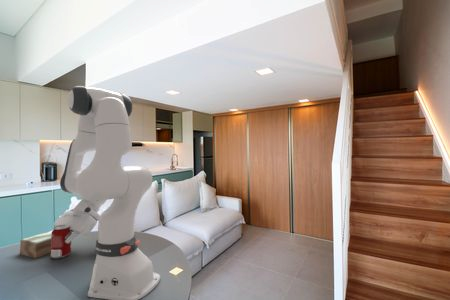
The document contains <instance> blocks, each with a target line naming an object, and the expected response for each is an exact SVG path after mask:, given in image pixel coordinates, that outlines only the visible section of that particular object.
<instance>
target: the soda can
mask: <svg viewBox="0 0 450 300" xmlns="http://www.w3.org/2000/svg"><path fill="white" fill-rule="evenodd" d="M51 233H52V234H51V253H49V254H50V255H49V257H50V258H52V259H63V258H65V257H67V256H69V255H70V254H72V253H71V252H72V240H71V241H70V243H65V242H64V240H65V238H66V237H69V236H70V235H71V234H72V230H70V226H69V227H68V226H66V225H59V226H54V227H53V229H52V231H51Z"/></svg>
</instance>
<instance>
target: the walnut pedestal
mask: <svg viewBox="0 0 450 300" xmlns="http://www.w3.org/2000/svg"><path fill="white" fill-rule="evenodd" d="M51 234H52V232H48V231H46V232H44V233H39V234H35V235H32V236H29V237H26V238H22V239H21V240H20V243H19V244H20V246H19V254H20V255H21V256H26V257H30V258H32V259H33V258H34V259H38V258H40V257H43V256H46V255H47V254H51Z"/></svg>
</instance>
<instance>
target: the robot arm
mask: <svg viewBox="0 0 450 300" xmlns="http://www.w3.org/2000/svg"><path fill="white" fill-rule="evenodd" d="M66 98H67V99H66V100H67V104H68V107H69V110H70V111H71V112H72V113H73V114H77V115H79V119H78V124H77V125H78V126H77V135H76V137H75V138H74V139H73V140H72V141H71V143H70V145H69V149H68V153H67V156H66V160H65V161H66V162H65V166H64V171H63V174H62V175H61V178H60V181H59V184H60V185H59V186H60V189H61V190H62V191H64V193H65V192H66V193H70V194H74V195H77V196H79V198H81V199H80V201H79V202H78V203H77V205H76V206H75V207H74V208H72V209H70V210H67V211H65V212H64V213H63V214H62V215H60V216H59V217H58V218H57V219H55V221H54V222H53V226H54V227H56V226H59V225H66V226H68V227H69V226H70V230H72V234H71V235H70V236H69V237H66V238H65V240H64V242H65V243H70V241H71V242H72V240H74V239H75V238H77V237H78V236H79V235H82V236H88V235H89V234H90V233H91V232H92V230H93V229H94V228H95V227H96V226H97V240H96V242H95V254H96V256H95V261H94V263H93V268H92V274H91V280H90V283H89V289H88V291H87V297H89V298H97V299H103V300H104V299H105V300H140V299H142V298H144V297H145V296H146V295H148V294H149V293H150V292H152V290H154V289H155V288H156V286H158V284H159V283H160V280H161V275H160V274H159V273H157V272H154V267H153V262H152V260H150V259H149V257H148V256H147V255H146V254H144V253H143V252H142V251H141V250H140V249H139V248H138V244H141V242H140V241H141V239H138V240H137V239H136V235H135V222H136V221H135V219H136V213H137V210H138V207H139V205H140V202H141V200H142V198H143V197H144V195H145V194H146V192H148V191H149V190H150V188H151V187H152V184H153V179H154V177H153V174H152V172H151V170H150V169H149V168H147V167H146V166H145V167H144V166H140V165H133V164H132V165H121V164H122V163H121V162H122V157H123V156H125V155H126V154H128V152H130V151H131V150H132V145H133V144H132V142H133V141H132V133H131V126H130V119H129V118H130V116H131V115H132V112H133V101H132V100H131V98H130V97H129V96H128V95H126V94H124V93H118V92H114V91H111V90H106V89H103V88H97V87H87V86H86V87H85V86H83V85H77V86H73V87H71V88H70V89H69V92H68V94H67V97H66ZM94 151H95V153H94V157H93V158H92V159H91V162H90V163H89V165H88V166H86V168H84V169H83V170H81V169H82V165H83V160H84V156H85V154H86V153H87V152H94ZM108 200H113V201H112V202H111V203H110V206H109V207H107V209H105V210H104V211H103V212H102V213H101V214H99V213H98V212H99V211H100V209H101V207H102V206H103V205H104V204H106V202H107V201H108ZM97 224H98V225H97Z"/></svg>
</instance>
